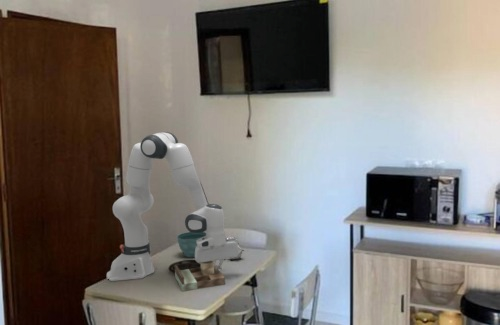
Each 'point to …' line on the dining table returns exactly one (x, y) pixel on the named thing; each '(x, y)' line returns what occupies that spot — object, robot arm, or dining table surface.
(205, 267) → the maple block
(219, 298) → the dining table surface
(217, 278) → the box
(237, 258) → the game die
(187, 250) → the flower pot
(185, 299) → the dining table surface
